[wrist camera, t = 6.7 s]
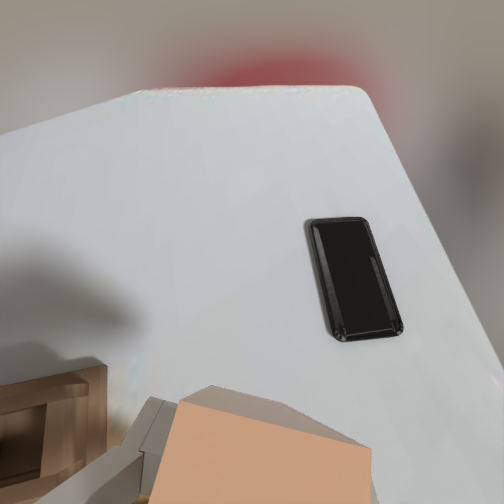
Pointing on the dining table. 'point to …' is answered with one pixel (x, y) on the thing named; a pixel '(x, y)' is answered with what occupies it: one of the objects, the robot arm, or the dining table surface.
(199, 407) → the clay bar
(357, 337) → the phone
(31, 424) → the wooden cubby shelf
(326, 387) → the dining table surface
